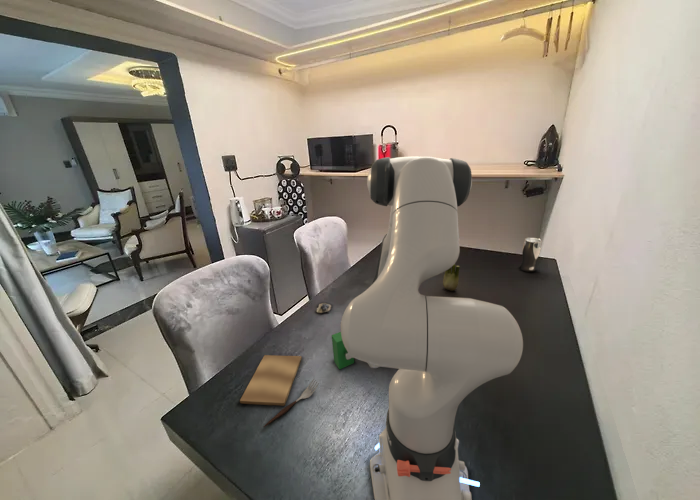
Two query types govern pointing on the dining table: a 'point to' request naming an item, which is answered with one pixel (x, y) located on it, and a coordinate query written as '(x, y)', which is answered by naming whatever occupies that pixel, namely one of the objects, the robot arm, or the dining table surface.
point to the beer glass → (530, 253)
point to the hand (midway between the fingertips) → (340, 349)
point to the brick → (340, 352)
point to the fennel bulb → (451, 278)
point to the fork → (305, 394)
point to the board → (272, 381)
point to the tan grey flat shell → (323, 308)
